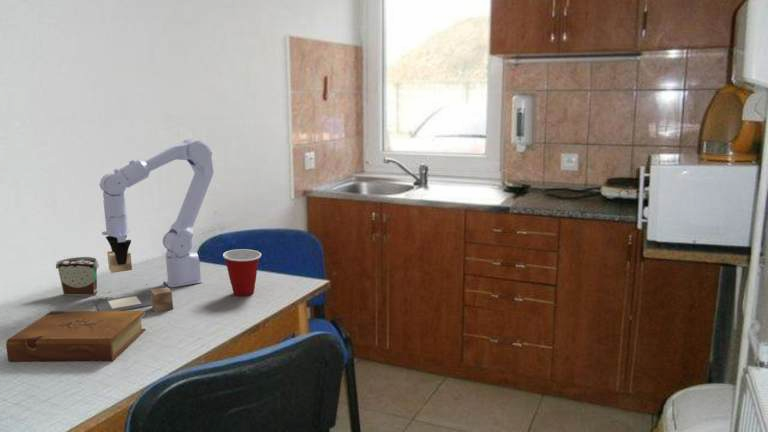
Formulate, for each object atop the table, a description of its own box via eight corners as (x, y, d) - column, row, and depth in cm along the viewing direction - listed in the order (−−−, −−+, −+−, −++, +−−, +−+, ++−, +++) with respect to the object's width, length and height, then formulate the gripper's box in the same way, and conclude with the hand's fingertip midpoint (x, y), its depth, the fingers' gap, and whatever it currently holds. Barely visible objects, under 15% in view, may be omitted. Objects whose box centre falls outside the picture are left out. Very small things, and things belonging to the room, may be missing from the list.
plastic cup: (250, 301, 178) (247, 259, 175) (217, 296, 182) (214, 256, 179) (270, 289, 188) (268, 250, 185) (239, 286, 192) (237, 247, 189)
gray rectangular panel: (146, 293, 186) (146, 292, 186) (155, 304, 176) (155, 303, 176) (94, 302, 179) (94, 300, 179) (100, 314, 169) (100, 313, 169)
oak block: (128, 265, 189) (127, 249, 188) (132, 269, 184) (130, 253, 183) (108, 268, 186) (107, 251, 185) (111, 272, 181) (109, 255, 181)
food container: (110, 289, 191) (106, 256, 189) (99, 295, 185) (95, 262, 183) (71, 288, 192) (67, 256, 190) (58, 294, 186) (55, 261, 184)
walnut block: (169, 304, 176) (167, 287, 175) (173, 309, 172) (171, 291, 171) (152, 307, 174) (150, 290, 173) (155, 312, 170) (154, 294, 169)
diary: (8, 365, 140) (5, 340, 138) (53, 333, 158) (51, 311, 157) (112, 363, 139) (110, 338, 138) (146, 332, 157) (143, 309, 156)
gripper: (97, 213, 186) (102, 258, 189) (104, 221, 174) (109, 269, 177) (123, 210, 190) (127, 254, 192) (131, 218, 178) (135, 265, 180)
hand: (120, 261), depth 185 cm, fingers closed on oak block, 5 cm apart
